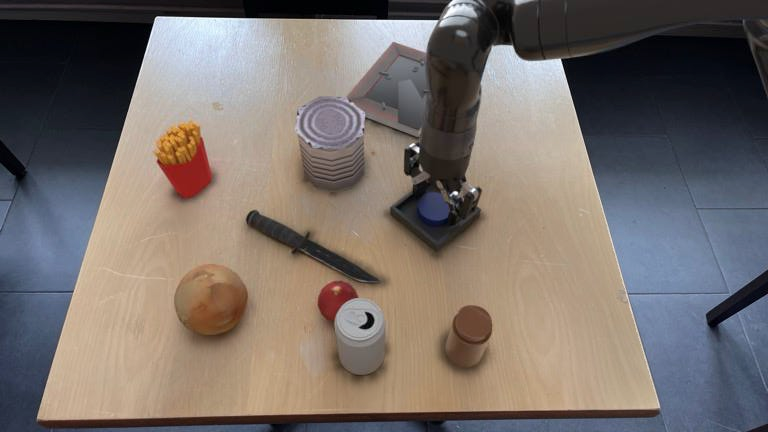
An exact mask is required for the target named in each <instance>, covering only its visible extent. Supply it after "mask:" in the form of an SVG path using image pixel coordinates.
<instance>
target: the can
mask: <svg viewBox="0 0 768 432" xmlns="http://www.w3.org/2000/svg"><path fill="white" fill-rule="evenodd" d="M365 120H366V117H365V112H363V111H362V110H361V109H360V108H359V107H357V106H356V105H355V104H354V103H353V102H352V101H350V100H349V99H348V98H347V96H345V97H344V96H327V95H318V96H316V97H315V98H314V99H312V100H311V101H308V102H307V103H306V104H304V105H303V106H301V107H299V108H298V109H297V112H296V118H295V124H294V125H295V126H294V132H295V133H296V134H297V139H298V140H297V141H298V146H299V151H300V158H301V164H302V169H303V175H304V178H305V179H306V180H307V181H308V182H309V183H310V184H311V186H313V188H314V189H315V190H320V191H326V192H329V193H334V194H335V193H340V192H342V191H346V190H349V189H353V188H354V187H355V186H357V184H358V183H359V182H360V181H361V180H362V178H363V177H364V176H365V174H366V173H365V138H364V137H365V124H366V123H365V122H366V121H365Z"/></svg>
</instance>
